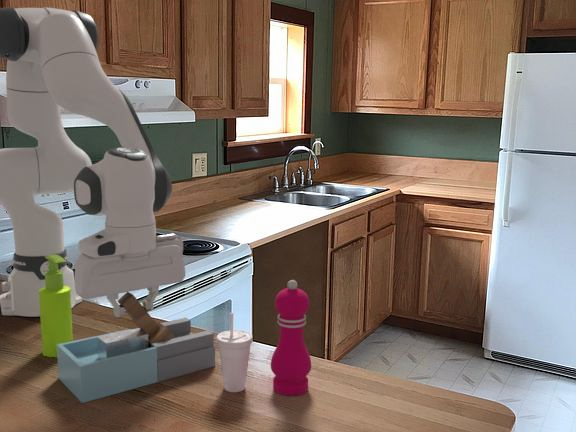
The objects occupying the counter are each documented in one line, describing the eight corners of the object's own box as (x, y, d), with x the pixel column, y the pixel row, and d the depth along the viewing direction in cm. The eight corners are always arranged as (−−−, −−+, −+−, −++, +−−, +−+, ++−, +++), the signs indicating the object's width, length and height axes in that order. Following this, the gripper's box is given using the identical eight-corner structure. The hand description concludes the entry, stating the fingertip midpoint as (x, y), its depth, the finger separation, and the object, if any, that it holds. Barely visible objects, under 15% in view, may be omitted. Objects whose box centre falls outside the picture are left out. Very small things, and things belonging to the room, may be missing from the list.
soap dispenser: (51, 361, 123) (45, 261, 119) (38, 351, 128) (32, 254, 124) (80, 354, 127) (75, 257, 123) (66, 344, 132) (61, 250, 128)
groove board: (130, 360, 124) (129, 328, 123) (185, 346, 131) (184, 316, 130) (158, 382, 115) (157, 348, 114) (215, 366, 122) (214, 334, 121)
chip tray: (58, 378, 116) (56, 344, 114) (130, 360, 124) (129, 328, 123) (81, 403, 106) (80, 366, 105) (157, 382, 115) (156, 348, 114)
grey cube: (119, 352, 118) (118, 332, 117) (139, 347, 120) (138, 327, 119) (128, 359, 114) (127, 338, 114) (148, 354, 117) (148, 334, 116)
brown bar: (146, 344, 122) (110, 301, 116) (162, 329, 123) (127, 286, 117) (159, 353, 117) (123, 309, 112) (175, 338, 119) (139, 294, 113)
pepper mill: (307, 399, 109) (309, 287, 105) (266, 394, 110) (267, 284, 107) (313, 381, 116) (316, 276, 112) (275, 377, 117) (276, 273, 114)
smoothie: (212, 383, 115) (211, 309, 112) (245, 377, 117) (245, 305, 115) (222, 398, 109) (222, 320, 106) (257, 392, 111) (258, 316, 109)
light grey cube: (98, 357, 115) (97, 336, 115) (119, 352, 118) (118, 332, 117) (106, 364, 112) (105, 343, 111) (128, 359, 115) (127, 338, 114)
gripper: (174, 229, 122) (176, 298, 125) (69, 243, 110) (73, 319, 112) (190, 235, 118) (192, 306, 120) (82, 249, 105) (86, 329, 107)
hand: (133, 313), depth 116 cm, fingers closed on brown bar, 4 cm apart
